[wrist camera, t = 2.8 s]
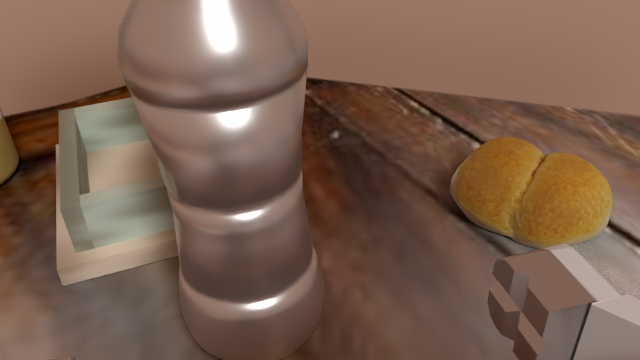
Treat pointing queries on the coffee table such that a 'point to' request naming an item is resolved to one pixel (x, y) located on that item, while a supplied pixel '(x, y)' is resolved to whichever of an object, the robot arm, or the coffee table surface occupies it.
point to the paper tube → (7, 152)
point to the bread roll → (532, 194)
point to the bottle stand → (109, 194)
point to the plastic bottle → (230, 164)
